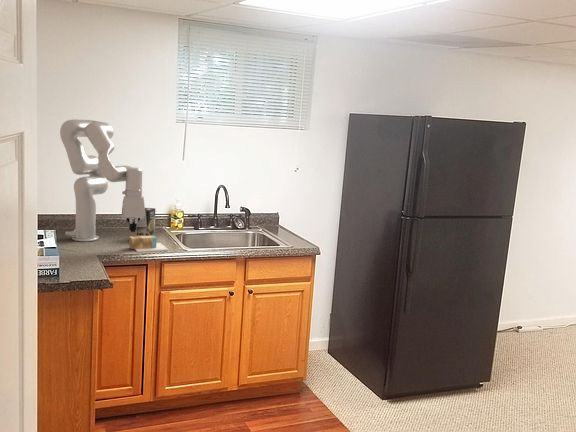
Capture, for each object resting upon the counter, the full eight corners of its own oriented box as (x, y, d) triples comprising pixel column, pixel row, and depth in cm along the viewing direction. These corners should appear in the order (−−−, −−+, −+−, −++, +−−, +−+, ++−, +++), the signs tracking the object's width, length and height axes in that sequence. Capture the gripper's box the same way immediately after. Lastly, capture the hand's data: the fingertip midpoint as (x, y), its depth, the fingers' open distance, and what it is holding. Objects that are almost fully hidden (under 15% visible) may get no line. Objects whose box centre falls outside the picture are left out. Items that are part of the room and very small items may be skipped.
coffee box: (147, 241, 301) (148, 210, 298) (135, 240, 302) (136, 209, 300) (155, 238, 310) (156, 208, 307) (143, 237, 311) (144, 207, 308)
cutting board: (137, 252, 278) (137, 250, 278) (130, 245, 290) (130, 244, 290) (168, 250, 286) (168, 249, 286) (159, 244, 298) (159, 242, 298)
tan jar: (131, 238, 281) (156, 237, 286) (129, 236, 285) (153, 235, 291) (131, 248, 281) (156, 247, 287) (129, 246, 286) (153, 245, 292)
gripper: (119, 195, 273) (118, 233, 276) (151, 194, 280) (150, 232, 283) (115, 192, 279) (115, 230, 282) (147, 192, 286) (146, 229, 289)
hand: (132, 231), depth 283 cm, fingers closed
